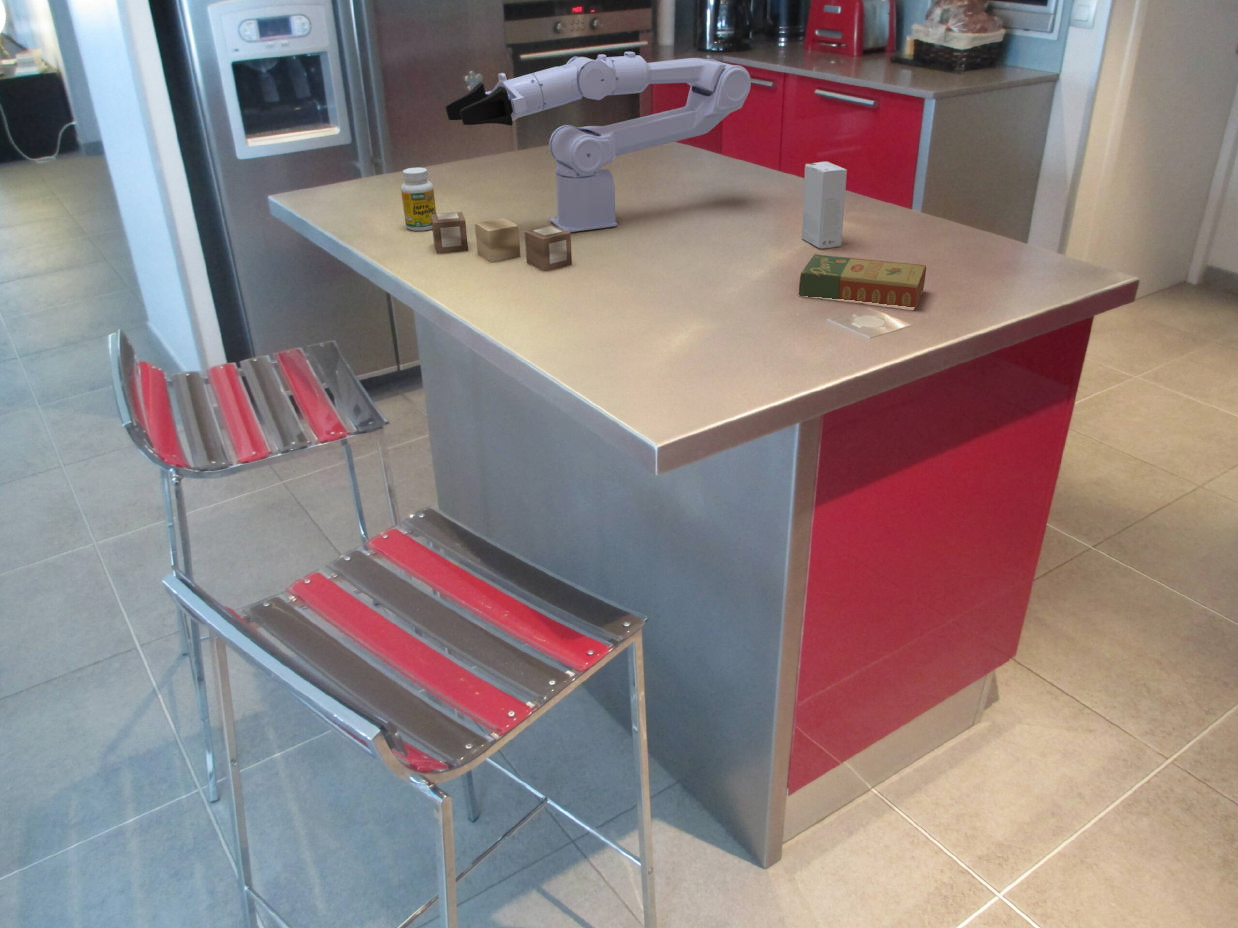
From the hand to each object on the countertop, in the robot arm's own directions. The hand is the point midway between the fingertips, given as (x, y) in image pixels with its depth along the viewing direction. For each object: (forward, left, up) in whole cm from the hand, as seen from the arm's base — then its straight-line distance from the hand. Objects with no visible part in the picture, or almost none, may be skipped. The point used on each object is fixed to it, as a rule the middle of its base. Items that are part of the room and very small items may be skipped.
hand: (454, 115), depth 150 cm
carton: (-45, +45, -20) cm, 67 cm away
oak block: (-3, +8, -20) cm, 22 cm away
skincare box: (-52, +23, -20) cm, 61 cm away
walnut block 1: (+3, +1, -20) cm, 20 cm away
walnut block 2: (-9, +15, -20) cm, 27 cm away
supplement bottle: (+5, -12, -20) cm, 24 cm away
